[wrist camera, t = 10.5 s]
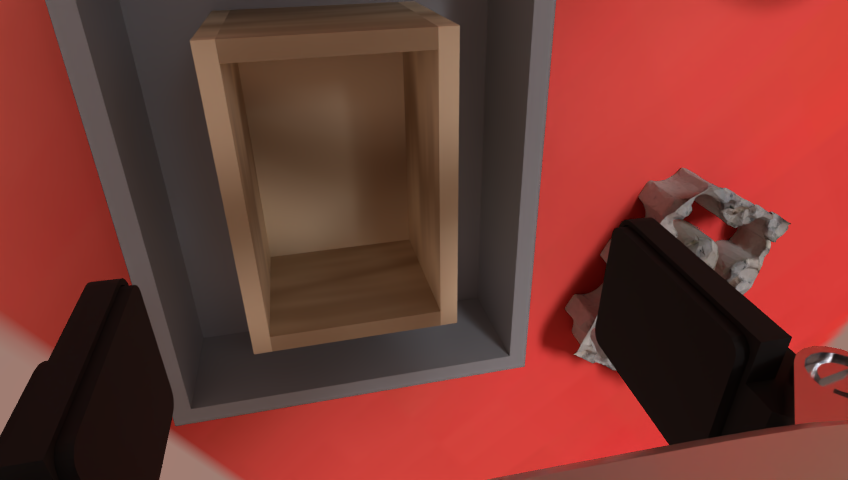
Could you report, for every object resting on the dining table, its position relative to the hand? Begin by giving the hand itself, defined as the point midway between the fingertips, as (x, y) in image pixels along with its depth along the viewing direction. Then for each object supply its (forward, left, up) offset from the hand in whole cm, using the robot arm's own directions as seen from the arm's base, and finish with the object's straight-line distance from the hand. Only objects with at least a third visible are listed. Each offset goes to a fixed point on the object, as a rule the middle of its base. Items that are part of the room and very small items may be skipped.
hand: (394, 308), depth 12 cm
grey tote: (+1, 0, -13) cm, 13 cm away
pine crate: (+1, 0, -13) cm, 13 cm away
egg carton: (+9, +16, -14) cm, 23 cm away
